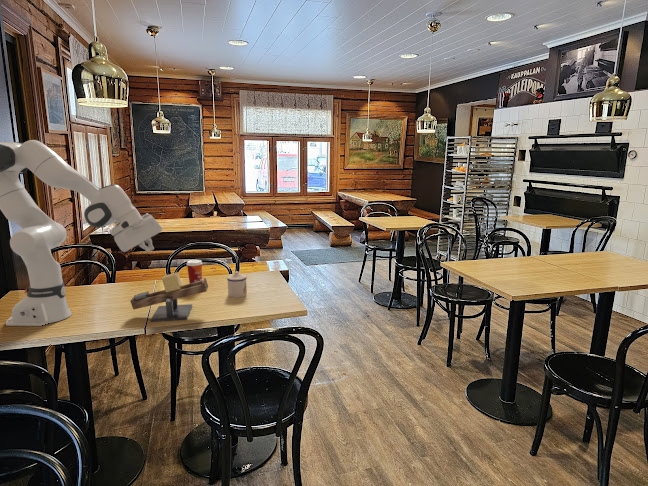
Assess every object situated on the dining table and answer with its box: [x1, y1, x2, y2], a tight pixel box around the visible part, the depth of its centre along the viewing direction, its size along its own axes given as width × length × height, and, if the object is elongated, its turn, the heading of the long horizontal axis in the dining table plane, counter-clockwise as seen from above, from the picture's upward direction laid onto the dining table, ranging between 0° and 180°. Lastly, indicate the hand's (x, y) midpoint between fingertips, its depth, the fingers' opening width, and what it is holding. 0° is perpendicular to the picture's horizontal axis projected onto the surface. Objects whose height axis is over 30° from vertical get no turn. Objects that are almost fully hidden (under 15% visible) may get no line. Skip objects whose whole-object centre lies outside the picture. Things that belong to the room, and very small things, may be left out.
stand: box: [150, 297, 193, 323], centre depth 177 cm, size 14×15×9 cm
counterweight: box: [134, 291, 150, 301], centre depth 174 cm, size 4×4×3 cm
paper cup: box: [186, 259, 203, 284], centre depth 211 cm, size 8×8×14 cm
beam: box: [130, 277, 209, 310], centre depth 176 cm, size 30×7×5 cm, turn 99°
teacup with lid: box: [226, 270, 248, 299], centre depth 202 cm, size 12×9×12 cm
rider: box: [161, 271, 183, 293], centre depth 175 cm, size 6×4×8 cm
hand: (151, 250), depth 168 cm, fingers closed
